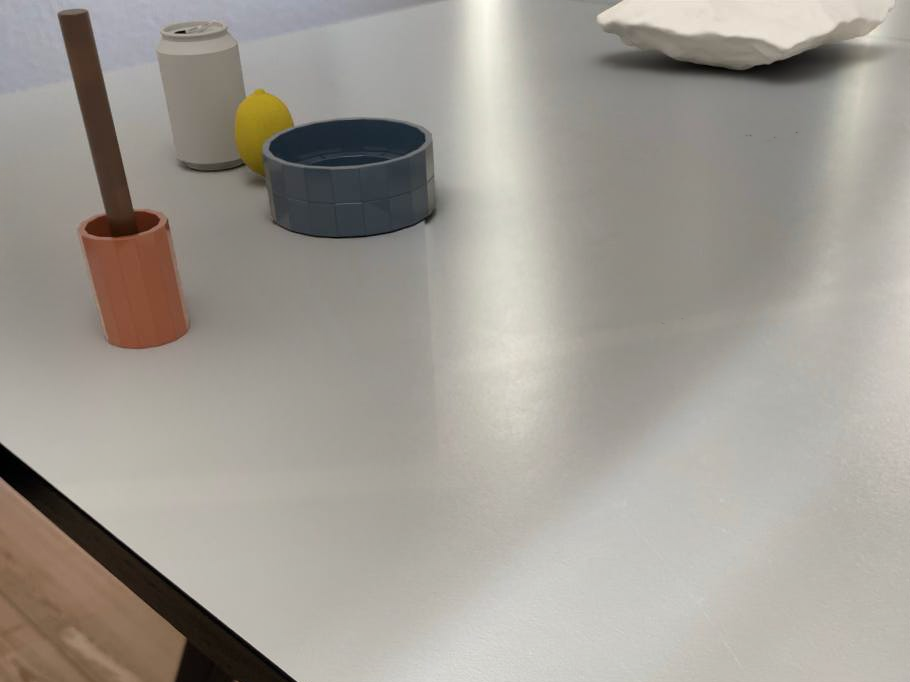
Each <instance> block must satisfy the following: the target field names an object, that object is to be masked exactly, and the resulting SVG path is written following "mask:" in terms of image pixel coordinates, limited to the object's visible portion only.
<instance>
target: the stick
mask: <svg viewBox="0 0 910 682" xmlns="http://www.w3.org/2000/svg"><path fill="white" fill-rule="evenodd" d="M57 20H58V23H59V27H60V31H61V35H62V41H63V45H64V49H65V53H66V56H67V60H68V65H69V69H70V72H71V77H72V81H73V84H74V90H75V93H76V98H77V101H78V105H79V110H80V113H81V117H82V118H81V119H82V122H83V126H84V130H85V134H86V139H87V143H88V147H89V152H90V155H91V159H92V163H93V167H94V171H95V175H96V180H97V184H98V187H99V193H100V196H101V200H102V204H103V208H104V213H106V217H107V221H108V225H109V229H110V233H111V237H123V236H131V235H135V234H139V232H138V227H137V223H136V218H135V214H134V210H133V209H134V205H133V202H132V197H131V191H130V188H129V184H128V179H127V174H126V171H125V165H124V162H123V158H122V157H123V156H122V152H121V149H120V144H119V140H118V135H117V131H116V127H115V121H114V118H113V114H112V109H111V104H110V100H109V96H108V91H107V87H106V82H105V77H104V73H103V69H102V64H101V60H100V56H99V51H98V47H97V43H96V39H95V34H94V29H93V25H92V21H91V16H90V12H89V10H88V9H85V8H69V9H63V10H61V11H58V12H57Z"/></svg>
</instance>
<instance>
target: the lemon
mask: <svg viewBox="0 0 910 682" xmlns="http://www.w3.org/2000/svg"><path fill="white" fill-rule="evenodd" d="M293 126H295V123H294V119H293V117H292V115H291V112H290V110H289V108H288V107H287V105H286V104H285V102H284V101H282V100H281V99H280V98H279V97H277V96H276V95H274V94H272V93H269V92H266V91H265V89H263V88H255V90H254V91H253V93H251V94H249V95H247V96H246V98H245V99H244V100H243V101H242V103H241V104H240V105H239V107H238V109H237V113H236V117H235V140H236V145H237V148H238V151H239V154H240V156H241V158H242V160H243V161H244V164H245V165H246V166H247V167H248V168H249V170H251V171H252V172H254V173H255V174H258V175H261V176H263V177H264V178H265V179H266V177H265V171H264V164H263V157H262V151H261V150H262V147H263V144H264V141H266V140H267V139H268V138H270V137H271V136H272V135H274V134H276V133H278V132H281V131H283V130H286V129H288V128H290V127H293Z"/></svg>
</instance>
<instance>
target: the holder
mask: <svg viewBox="0 0 910 682" xmlns="http://www.w3.org/2000/svg"><path fill="white" fill-rule="evenodd" d="M133 210H134V214H135V218H136V223H137V227H138V232H139V234H135V235H131V236H123V237H111V233H110V229H109V225H108V221H107V217H106V213H105V212H102V213H98V214H95V215H92V216H91V217H89V218H87V219H85V220H82V221H81V222H80V224H79V225H78V227H77V228H76V233H77V237H78V240H79V244H80V245H79V246H80V249H81V252H82V257H83V259H84V260H83V261H84V263H85V267H86V271H87V275H88V278H89V282H90V287H91V290H92V294H93V298H94V301H95V306H96V308H97V313H98V316H99V320H100V324H101V328H102V332H103V336H104V338H105V339H106V341H107V342H108V343H109V344H110V345H112V346H114V347H116V348H121V349H128V350H144V349H152V348H158V347H161V346H165V345H168V344H170V343H171V344H172V343H173V342H175V341H177V340H179V339H180V338H182V337H184V336H185V335H186V334H187V333H188V331H189V330H190V325H191V323H190V318H189V314H188V309H187V304H186V299H185V294H184V289H183V283H182V279H181V275H180V270H179V266H178V261H177V256H176V251H175V247H174V242H173V236H172V231H171V227H170V221H169V217H167V216H166V215H165V214H164V213H163V212H162V211H158V210H154V209H150V208H133Z"/></svg>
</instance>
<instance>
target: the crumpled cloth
mask: <svg viewBox="0 0 910 682" xmlns="http://www.w3.org/2000/svg"><path fill="white" fill-rule="evenodd" d="M896 2H897V0H621V1H620V2H618V3H617V4H615V5H613V6H612V7H610V8H607V9H606V10H604V11H602V12H600V13H599V14H597V17H596V24H597V26H598V27H599V29H600V30H601V31H602V32H604V33H607V34H613V35H616V36H618V37H619V39H620V42H621V43H622V44H623V45H626V46H629V47H635V48H638V49H639V50H644V51H655V52H658V53H661V54H664V55H665V56H667V57H669V58H671V59H673V60H675V61H679V62H688V63H693V64H696V65H703V66H704V65H705V66H710V67H713V68H714V67H715V68H723V69H726V70H733V71H745V70H749V69H752V68H754V67H755V66H761V65H771V64H773V63H775V62H777V61H784V60H787V59H789V58H793V57H794V56H799V55H800V54H802V53H804V52H807V51H810V50H813V49H817V48H818V47H820V46H825V45H828V44H829V45H830V44H833V43H840V42H843V41H848V40H853V39H856V38H860V37H861V38H862V37H865V36H868V35H869V34H870V33H872V32H874V30H875V29H877V28H878V27H879V26H880V25H882V24H883V23H884V22H885V21H886V20H887V18H888V16H889V13H891V12H892V10H893V9H894V7H895V5H896Z"/></svg>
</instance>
